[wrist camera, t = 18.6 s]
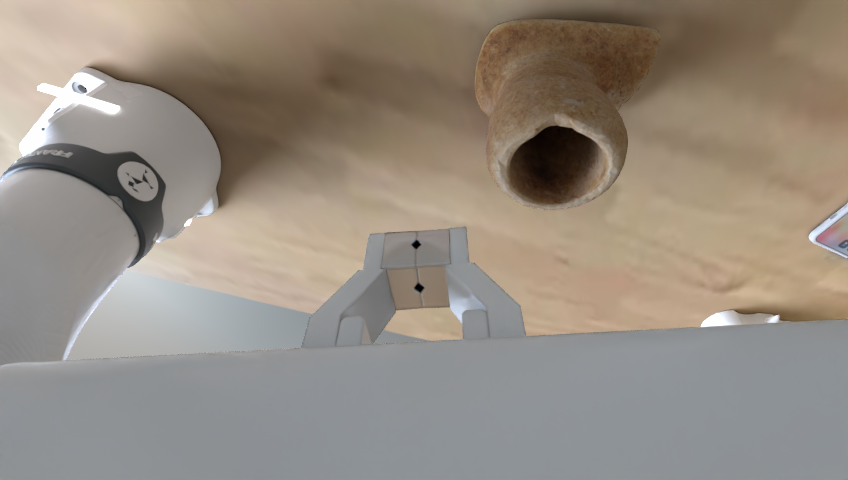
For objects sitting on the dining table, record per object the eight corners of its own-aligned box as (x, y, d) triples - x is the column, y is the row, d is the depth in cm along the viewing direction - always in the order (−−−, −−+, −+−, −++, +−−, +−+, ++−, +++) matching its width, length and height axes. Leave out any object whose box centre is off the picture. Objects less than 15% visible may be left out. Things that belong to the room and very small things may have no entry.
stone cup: (465, 131, 47) (470, 216, 35) (483, 6, 39) (497, 62, 27) (608, 143, 47) (660, 232, 35) (654, 22, 39) (739, 84, 28)
